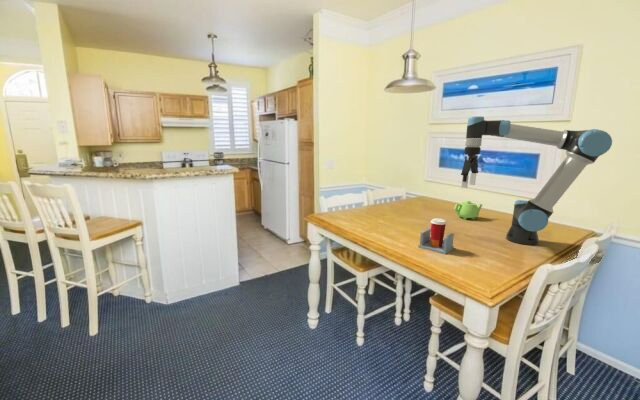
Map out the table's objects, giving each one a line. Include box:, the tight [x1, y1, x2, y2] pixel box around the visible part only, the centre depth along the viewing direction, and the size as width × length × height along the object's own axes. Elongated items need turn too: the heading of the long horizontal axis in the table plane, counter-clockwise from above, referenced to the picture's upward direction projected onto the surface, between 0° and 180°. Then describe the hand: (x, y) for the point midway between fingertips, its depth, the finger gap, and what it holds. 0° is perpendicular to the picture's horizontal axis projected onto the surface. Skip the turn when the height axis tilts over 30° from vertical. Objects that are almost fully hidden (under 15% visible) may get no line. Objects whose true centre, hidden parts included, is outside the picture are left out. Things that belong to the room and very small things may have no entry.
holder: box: [417, 227, 455, 255], centre depth 156 cm, size 14×12×8 cm
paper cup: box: [430, 218, 447, 248], centre depth 155 cm, size 8×8×14 cm
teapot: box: [453, 200, 483, 221], centre depth 214 cm, size 20×13×13 cm
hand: (468, 186), depth 163 cm, fingers open, 13 cm apart
